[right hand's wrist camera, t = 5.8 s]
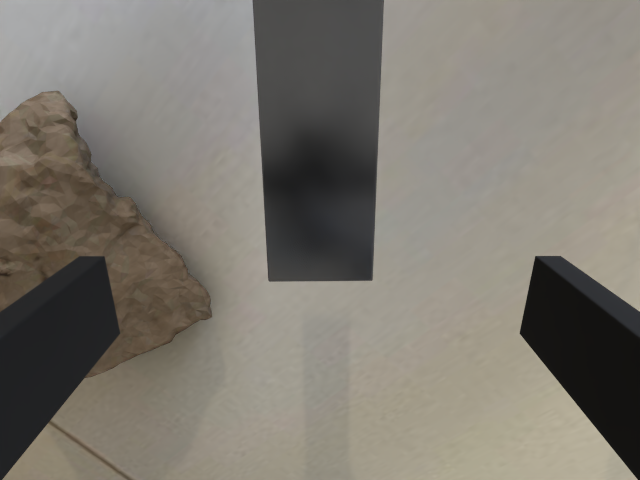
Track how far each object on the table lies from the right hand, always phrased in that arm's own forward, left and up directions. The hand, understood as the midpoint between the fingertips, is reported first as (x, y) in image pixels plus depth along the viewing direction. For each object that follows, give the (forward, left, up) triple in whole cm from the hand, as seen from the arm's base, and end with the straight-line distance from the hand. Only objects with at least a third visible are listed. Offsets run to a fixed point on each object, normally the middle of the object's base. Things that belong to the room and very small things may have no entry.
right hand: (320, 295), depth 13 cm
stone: (-20, +4, -22) cm, 30 cm away
